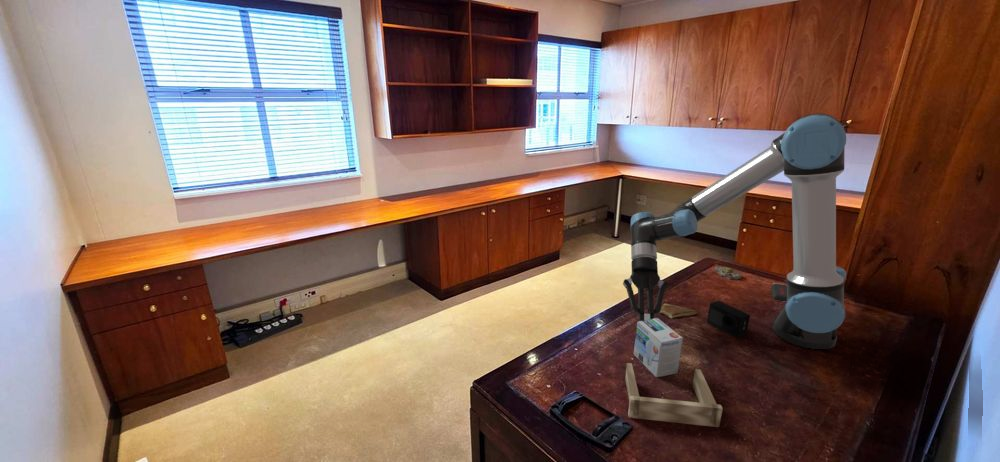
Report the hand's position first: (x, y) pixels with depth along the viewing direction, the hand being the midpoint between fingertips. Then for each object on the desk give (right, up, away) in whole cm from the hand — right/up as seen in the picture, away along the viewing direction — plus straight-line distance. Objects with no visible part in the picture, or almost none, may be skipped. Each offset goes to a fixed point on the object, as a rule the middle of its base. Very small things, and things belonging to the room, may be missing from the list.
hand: (647, 337), depth 115 cm
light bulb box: (0, -6, -5) cm, 8 cm away
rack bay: (-2, -10, -18) cm, 21 cm away
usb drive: (+59, +7, +31) cm, 67 cm away
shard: (+17, +3, +21) cm, 27 cm away
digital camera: (+28, 0, +10) cm, 29 cm away
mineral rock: (+50, +12, +47) cm, 70 cm away
